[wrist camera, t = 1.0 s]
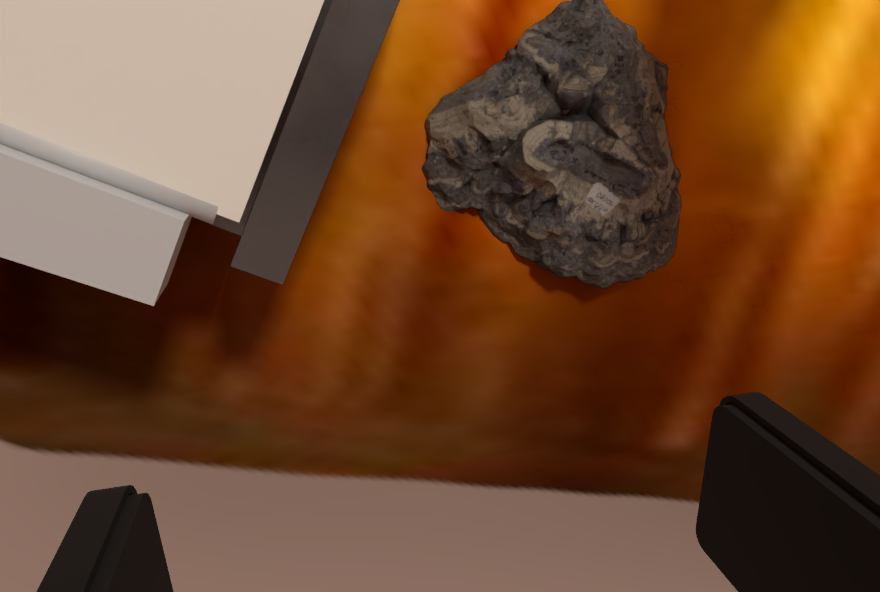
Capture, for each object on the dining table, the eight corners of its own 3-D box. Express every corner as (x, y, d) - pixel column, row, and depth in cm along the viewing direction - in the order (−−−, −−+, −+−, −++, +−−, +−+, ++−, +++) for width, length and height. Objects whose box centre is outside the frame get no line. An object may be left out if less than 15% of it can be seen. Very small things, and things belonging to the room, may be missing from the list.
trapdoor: (-24, -326, 20) (-75, -389, 18) (361, -97, 25) (369, -117, 22) (-138, 181, 25) (-192, 195, 22) (210, 297, 29) (201, 321, 26)
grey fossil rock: (526, -63, 33) (387, 180, 36) (553, -79, 29) (398, 192, 32) (753, 123, 40) (622, 314, 42) (798, 128, 36) (651, 337, 39)
